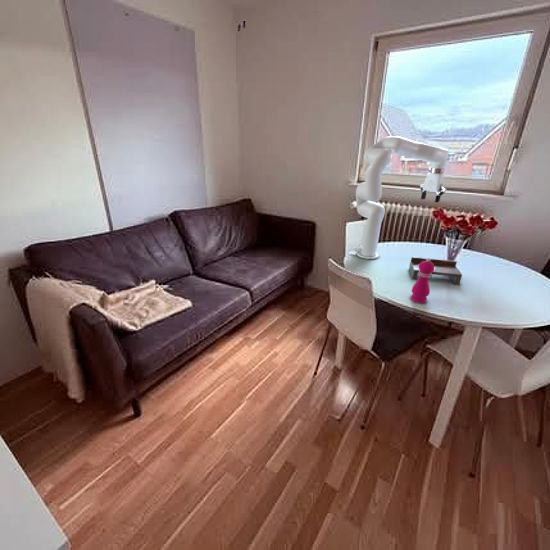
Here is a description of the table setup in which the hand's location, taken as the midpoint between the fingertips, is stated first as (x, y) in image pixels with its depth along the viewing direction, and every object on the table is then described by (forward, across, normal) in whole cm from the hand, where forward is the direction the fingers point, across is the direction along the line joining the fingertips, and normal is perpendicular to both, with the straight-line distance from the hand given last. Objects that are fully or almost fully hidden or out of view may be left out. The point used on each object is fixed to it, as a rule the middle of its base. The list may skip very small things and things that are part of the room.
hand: (429, 200), depth 189 cm
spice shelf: (+31, +34, -31) cm, 56 cm away
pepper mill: (+32, +47, -58) cm, 82 cm away
